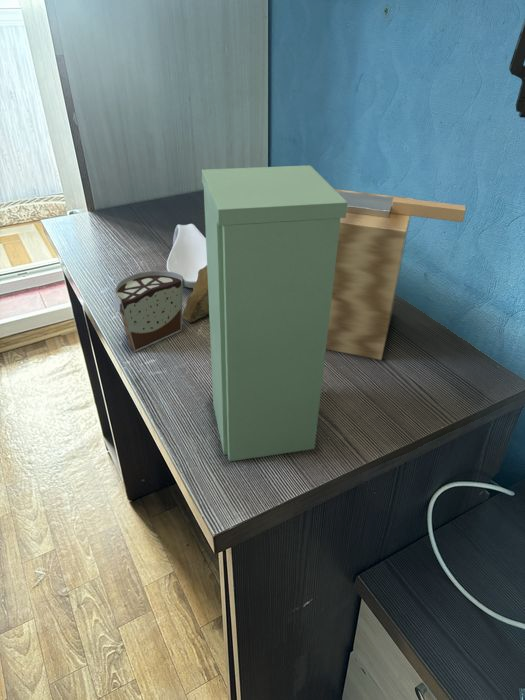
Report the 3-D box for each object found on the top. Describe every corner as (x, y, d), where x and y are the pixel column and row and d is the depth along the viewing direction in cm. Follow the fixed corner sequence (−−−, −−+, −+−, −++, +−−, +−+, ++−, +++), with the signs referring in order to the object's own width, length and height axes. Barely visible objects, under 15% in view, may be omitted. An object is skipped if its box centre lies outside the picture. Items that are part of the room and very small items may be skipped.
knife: (462, 213, 76) (465, 200, 75) (462, 227, 71) (465, 215, 70) (309, 193, 81) (310, 182, 80) (299, 206, 76) (300, 194, 75)
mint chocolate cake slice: (167, 313, 92) (162, 262, 86) (189, 327, 88) (185, 274, 83) (105, 340, 85) (95, 285, 79) (126, 356, 81) (117, 300, 75)
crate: (391, 316, 93) (414, 198, 80) (381, 360, 82) (406, 231, 69) (304, 301, 97) (313, 186, 84) (284, 341, 86) (291, 215, 73)
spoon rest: (235, 292, 99) (234, 258, 94) (173, 300, 96) (170, 265, 91) (208, 243, 117) (206, 212, 113) (155, 248, 114) (152, 217, 110)
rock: (187, 322, 85) (243, 304, 88) (170, 272, 85) (227, 256, 87) (181, 327, 96) (231, 311, 98) (166, 283, 96) (217, 268, 98)
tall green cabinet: (293, 389, 75) (310, 165, 57) (318, 448, 66) (347, 202, 47) (212, 399, 73) (201, 169, 55) (225, 462, 64) (218, 209, 45)
